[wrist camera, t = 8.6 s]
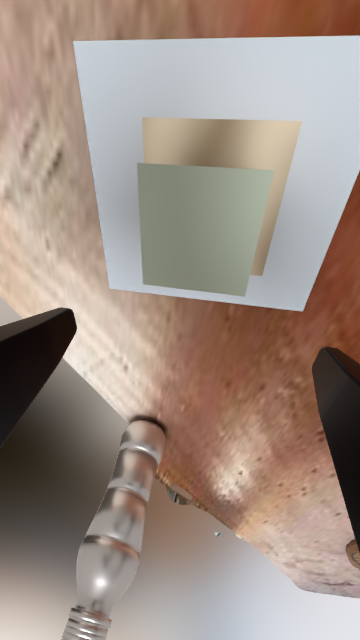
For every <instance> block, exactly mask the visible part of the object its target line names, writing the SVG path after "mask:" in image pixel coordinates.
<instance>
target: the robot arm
mask: <svg viewBox="0 0 360 640" xmlns="http://www.w3.org/2000/svg"><path fill="white" fill-rule="evenodd" d="M76 331H77V325H76V321H75V317H74V313H73V311H72V310H71V309H69V308H62V307H61V308H57V309H54V310H51V311H47V312H44V313H41V314H38V315H35V316H32V317H29V318H25V319H22V320H19V321H16V322H13V323H10V324H7V325H3V326H0V447H1V446H2V445H3V443H4V442H5V440H6V439H7V437H8V436H9V435H10V433H11V432H12V430H13V429H14V427H15V426H16V424H17V423H18V422H19V420H20V419H21V417H22V416H23V414H24V413H25V412H26V410H27V409H28V407H29V406H30V404H31V403H32V401H33V400H34V399H35V397H36V396H37V394H38V393H39V391H40V390H41V389H42V387H43V386H44V384H45V383H46V382H47V380H48V379H49V377H50V375H51V374H52V373H53V372H54V370H55V369H56V367H57V366H58V364H59V362H60V361H61V359H62V357H63V355H64V353H65V352H66V350H67V348H68V346H69V344H70V343H71V341H72V339H73V337H74V335H75V333H76ZM312 374H313V380H314V386H315V392H316V398H317V404H318V409H319V414H320V418H321V421H322V425H323V428H324V432H325V435H326V439H327V442H328V446H329V449H330V453H331V456H332V459H333V463H334V466H335V470H336V473H337V477H338V480H339V484H340V487H341V491H342V494H343V498H344V501H345V504H346V508H347V511H348V515H349V518H350V522H351V525H352V529H353V532H354V536H355V539H356V543H357V546H358V550H359V553H360V364H359V363H357V362H356V361H355V360H353V359H352V358H350V357H349V356H347V355H346V354H345V353H343V352H342V351H340V350H339V349H337V348H331V347H323V348H322V349H321V350H320V352H319V354H318V355H317V357H316V359H315V361H314V363H313V366H312Z"/></svg>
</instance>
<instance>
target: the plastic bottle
mask: <svg viewBox="0 0 360 640" xmlns="http://www.w3.org/2000/svg"><path fill="white" fill-rule="evenodd" d="M164 450H165V435H164V433H163V430H162V429H161V428H160V427H159V426H158V425H157V424H155V423H153V422H150V421H147V420H136V421H134V422H132V423H131V424H129V425H128V427H127V428H126V430H125V432H124V434H123V435H122V438H121V442H120V447H119V454H118V457H117V460H116V464H115V467H114V471H113V474H112V477H111V481H110V483H109V486H108V488H107V492H106V493H105V495H104V497H103V500H102V502H101V505H100V507H99V509H98V511H97V513H96V515H95V517H94V519H93V521H92V523H91V525H90V527H89V529H88V531H87V533H86V537H85V538H84V539H83V542H82V544H81V546H80V549H79V552H78V558H77V588H78V599H77V603H76V606H75V608H71V610H70V613H69V615H70V616H69V619H68V622H67V625H66V628H65V630H64V633H63V636H62V640H105V639H106V635H107V631H108V628H109V627H110V624H111V621H112V620H110V619H109V615H110V612H111V610H112V607H113V606H114V605H115V604H116V603H117V601H118V600H119V599H120V598H121V596H122V595H123V594H124V593H125V591H126V590H127V588H128V587H129V585H130V584H131V583H132V581H133V579H134V577H135V574H136V572H137V569H138V565H139V560H140V552H141V545H142V537H143V529H144V521H145V516H146V511H147V503H148V500H149V495H150V490H151V487H152V484H153V481H154V477H155V474H156V471H157V468H158V465H159V463H160V461H161V459H162V456H163V453H164Z"/></svg>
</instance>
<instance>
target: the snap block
mask: <svg viewBox="0 0 360 640" xmlns="http://www.w3.org/2000/svg"><path fill="white" fill-rule="evenodd" d="M273 174H274V170H260V169H243V168H225V167H206V166H188V165H169V164H150V163H137V177H138V196H139V216H140V236H141V256H142V276H143V285H151V286H160V287H168V288H176V289H185V290H193V291H201V292H210V293H218V294H227V295H235V296H243V297H245V294H246V290H247V286H248V281H249V277H250V273H251V269H252V264H253V260H254V256H255V251H256V247H257V243H258V238H259V234H260V230H261V226H262V221H263V217H264V213H265V208H266V204H267V200H268V196H269V191H270V187H271V183H272V178H273Z"/></svg>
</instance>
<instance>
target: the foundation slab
mask: <svg viewBox="0 0 360 640" xmlns="http://www.w3.org/2000/svg"><path fill="white" fill-rule="evenodd" d="M301 124H302V121H280V120H237V119H193V118H149V117H142V126H143V150H144V163H150V164H169V165H188V166H206V167H225V168H243V169H260V170H274V174H273V178H272V183H271V187H270V191H269V196H268V200H267V204H266V208H265V213H264V217H263V221H262V226H261V230H260V234H259V238H258V243H257V247H256V251H255V256H254V260H253V264H252V269H251V273H250V275H256V276H262V275H263V271H264V267H265V263H266V259H267V255H268V252H269V248H270V244H271V240H272V236H273V232H274V228H275V225H276V221H277V217H278V213H279V209H280V205H281V201H282V198H283V194H284V190H285V186H286V182H287V178H288V174H289V170H290V167H291V163H292V159H293V155H294V151H295V147H296V143H297V140H298V136H299V132H300V128H301Z"/></svg>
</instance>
